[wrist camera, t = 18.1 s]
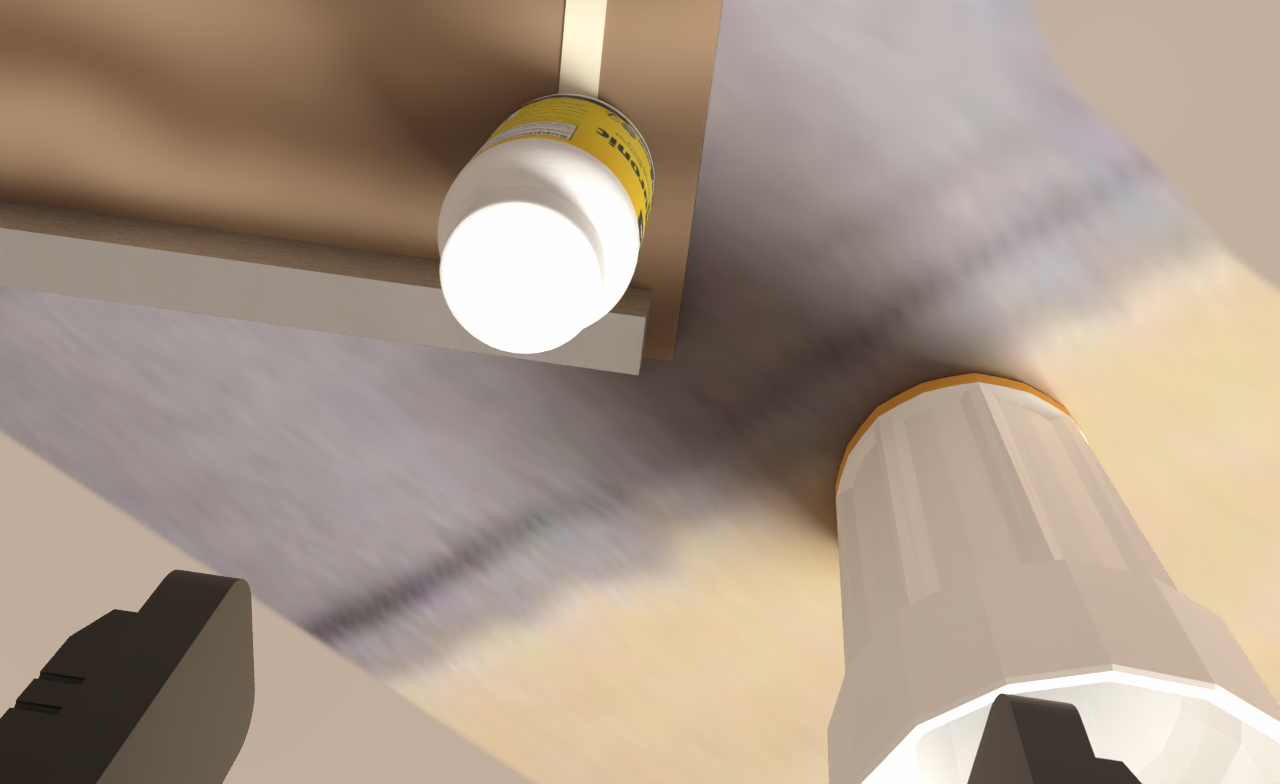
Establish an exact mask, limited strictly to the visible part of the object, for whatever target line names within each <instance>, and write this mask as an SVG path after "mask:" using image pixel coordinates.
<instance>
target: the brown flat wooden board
mask: <svg viewBox="0 0 1280 784" xmlns="http://www.w3.org/2000/svg"><path fill="white" fill-rule="evenodd" d="M722 3H723V0H0V199H4V200H11V201H18V202H25V203H33V204H40V205H47V206H54V207H62V208H69V209H76V210H83V211H90V212H98V213H105V214H112V215H119V216H127V217H134V218H141V219H148V220H156V221H163V222H170V223H177V224H184V225H192V226H199V227H206V228H213V229H221V230H228V231H235V232H242V233H250V234H257V235H264V236H271V237H279V238H286V239H293V240H300V241H307V242H315V243H322V244H329V245H336V246H344V247H351V248H358V249H365V250H373V251H380V252H387V253H394V254H401V255H409V256H416V257H423V258H430V259H438V260H440V254H439V248H438V237H437V236H438V221H439V216H440V211H441V208H442V204H443V202H444V199H445V197H446V195H447V193H448V191H449V189H450V187H451V185H452V184H453V182H454V181H455V179H456V178H457V176H458V175H459V173H460V172H461V171H462V169H463V168H464V167H465V166H466V165H467V164H468V162H469V161H470V160H471V159H472V158H473V157H474V156H475V154H476V153H477V152H478V151H479V150H480V149H481V147H482V146H483V145H484V144H485V143H486V142H487V140H488V139H489V138H490V137H491V135H492V134H493V133H494V132H495V131H496V130H497V128H498V127H499V126H500V125H501V124H502V123H503V122H504V121H505V119H506V118H507V117H508V116H510V115H511V114H512V113H513V112H514V111H516V110H517V109H518V108H520V107H522V106H523V105H525V104H527V103H529V102H531V101H533V100H535V99H538V98H542V97H545V96H548V95H553V94H580V95H585V96H589V97H593V98H596V99H599V100H601V101H604V102H606V103H607V104H609V105H611V106H613V107H614V108H616V109H617V110H619V111H620V112H621V113H623V114H624V115H625V116H626V117H627V118H628V119H629V120H630V121H631V122H632V123H633V124H634V126H635V127H636V128H637V129H638V131H639V132H640V134H641V135H642V137H643V139H644V140H645V142H646V144H647V146H648V149H649V152H650V154H651V158H652V162H653V167H654V175H655V188H654V197H653V204H652V208H651V211H650V215H649V219H648V223H647V226H646V231H645V234H644V238H643V242H642V245H641V249H640V254H639V259H638V263H637V267H636V269H635V271H634V274H633V276H632V279H631V281H630V283H629V285H628V286H633V287H640V288H647V289H652V294H651V302H650V310H649V318H648V326H647V334H646V341H645V347H644V352H643V357H642V358H648V359H655V360H662V361H669V362H673V357H674V350H675V344H676V337H677V329H678V322H679V315H680V308H681V300H682V293H683V286H684V279H685V271H686V264H687V257H688V250H689V242H690V235H691V228H692V221H693V213H694V206H695V199H696V192H697V184H698V177H699V170H700V163H701V155H702V148H703V141H704V134H705V126H706V119H707V112H708V105H709V97H710V90H711V83H712V76H713V68H714V61H715V54H716V47H717V39H718V32H719V25H720V18H721V10H722Z"/></svg>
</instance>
